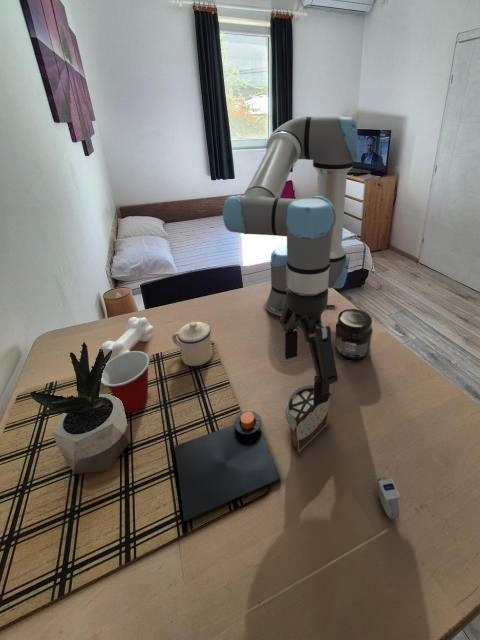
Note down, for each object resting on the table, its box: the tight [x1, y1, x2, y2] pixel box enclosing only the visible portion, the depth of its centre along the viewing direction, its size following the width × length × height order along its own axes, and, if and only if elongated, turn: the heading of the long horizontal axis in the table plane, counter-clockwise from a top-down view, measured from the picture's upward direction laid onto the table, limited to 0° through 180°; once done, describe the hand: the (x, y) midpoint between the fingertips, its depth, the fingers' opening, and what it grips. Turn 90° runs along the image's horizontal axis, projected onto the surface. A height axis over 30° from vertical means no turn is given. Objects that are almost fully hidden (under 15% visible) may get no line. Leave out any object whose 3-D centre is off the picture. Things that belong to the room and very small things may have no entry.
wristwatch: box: [376, 476, 402, 520], centre depth 58 cm, size 6×3×5 cm, turn 9°
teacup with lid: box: [171, 321, 213, 367], centre depth 93 cm, size 12×9×12 cm
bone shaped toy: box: [100, 316, 154, 361], centre depth 95 cm, size 15×9×8 cm, turn 170°
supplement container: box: [333, 308, 374, 362], centre depth 95 cm, size 10×10×12 cm
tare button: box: [241, 411, 255, 429], centre depth 71 cm, size 3×3×2 cm
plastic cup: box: [100, 350, 150, 414], centre depth 77 cm, size 11×11×12 cm
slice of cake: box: [284, 384, 334, 453], centre depth 71 cm, size 12×6×10 cm, turn 134°
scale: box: [174, 410, 282, 526], centre depth 66 cm, size 18×16×3 cm
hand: (304, 377), depth 67 cm, fingers open, 13 cm apart
